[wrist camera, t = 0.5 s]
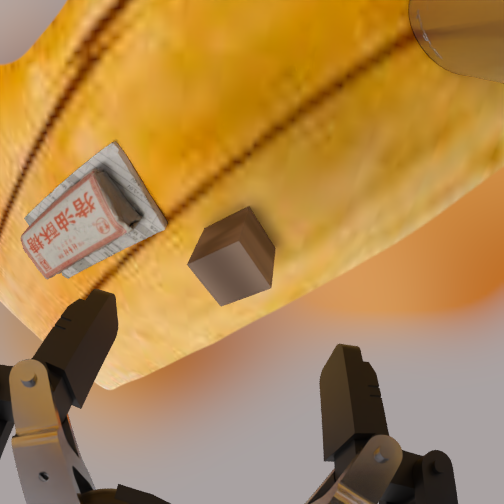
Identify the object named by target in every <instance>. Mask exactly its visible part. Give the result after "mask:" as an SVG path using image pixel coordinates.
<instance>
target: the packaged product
mask: <svg viewBox="0 0 504 504" xmlns="http://www.w3.org/2000/svg"><path fill="white" fill-rule="evenodd" d="M24 219H25V220H26V222H27V223H28V225H29V227H28V228H27V230H26V231H25V232H24V233H23V234H22V236H21V242H22V245H23V249H24V251H25V253H27V254H28V256H29V258H30V259H31V260H32V261H33V263H34V264H35V266H36V267H37V269H38V270H39V271H40V272H41V273H42V275H43V276H44V277H45V278H46V279H49V278H51V277H53V276H55V275H56V274H60V273H62V275H63V276H64V277H66V278H70V277H71V276H73V275H75V274H77V273H79V272H81V271H82V270H84V269H86V268H88V267H90V266H92V265H94V264H96V263H97V262H100V261H102V260H104V259H106V258H107V257H110V256H112V255H113V254H115V253H117V252H119V251H121V250H123V249H125V248H127V247H129V246H132V245H134V244H136V243H138V242H139V241H142V240H144V239H146V238H148V237H150V236H152V235H154V234H156V233H158V232H160V231H163V230H164V229H165V228H166V225H167V221H166V219H165V217H164V216H163V214H162V213H161V211H160V210H159V208H158V207H157V205H156V203H155V202H154V200H153V199H152V197H151V195H150V194H149V192H148V191H147V189H146V187H145V186H144V184H143V182H142V181H141V179H140V177H139V176H138V174H137V173H136V171H135V169H134V168H133V166H132V164H131V163H130V161H129V159H128V158H127V156H126V154H125V153H124V152H123V150H122V149H121V147H120V146H119V145H118V143H117V142H112V143H111V144H109V145H108V146H107V147H105V148H104V149H103V150H101V151H100V152H99V153H97V154H96V155H95V156H93V157H92V158H91V159H89V160H88V161H87V162H86V163H84V164H83V165H82V166H81V167H80V168H78V169H77V170H76V171H75V172H74V173H73V174H71V175H70V176H69V177H68V178H67V179H66V180H65V181H64V182H62V183H61V184H60V185H59V186H58V187H56V188H55V189H54V191H53V192H51V193H50V194H49V195H48V196H47V197H46V198H44V199H43V200H42V201H41V202H40V203H39V204H38V205H37V206H36V207H35V208H34V209H33V210H32V211H31V212H30V213H29V214H28V215H27V216H26V217H25V218H24Z"/></svg>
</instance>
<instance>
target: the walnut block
mask: <svg viewBox="0 0 504 504" xmlns="http://www.w3.org/2000/svg"><path fill="white" fill-rule="evenodd" d="M274 257H275V247H274V245H273V244H272V242H271V241H270V239H269V237H268V236H267V234H266V233H265V231H264V229H263V228H262V226H261V225H260V223H259V222H258V220H257V218H256V217H255V215H254V214H253V212H252V211H251V209H250V207H247V208H245V209H242V210H240V211H238V212H236V213H234V214H232V215H230V216H228V217H226V218H224V219H222V220H220V221H218V222H216V223H214V224H212V225H210V226H208V227H206V228H204V231H203V233H202V235H201V237H200V239H199V241H198V243H197V245H196V247H195V249H194V251H193V253H192V255H191V257H190V260H189V262H188V264H187V265H188V266H189V268H190V269H191V270H192V271H193V273H194V274H195V275H196V276H197V278H198V279H199V280H200V281H201V283H202V284H203V285H204V286H205V288H206V289H207V290H208V291H209V293H210V294H211V295H212V296H213V297H214V299H215V300H216V301H217V302H218V303H219V305H220V306H224V305H227V304H229V303H232V302H235V301H238V300H240V299H243V298H246V297H249V296H251V295H254V294H257V293H259V292H262V291H265V290H268V289H270V288H271V286H272V277H273V267H274Z"/></svg>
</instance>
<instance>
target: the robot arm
mask: <svg viewBox="0 0 504 504" xmlns="http://www.w3.org/2000/svg"><path fill="white" fill-rule="evenodd" d="M409 18H410V22H411V27H412V29H413V32H414V34H415V37H416V39H417V40H418V42H419V44H420V45H421V47H422V48H423V49H424V51H425V52H426V53H427V54H428V56H429V57H430V58H431V59H433V60H434V61H435V62H436V63H437V64H438V65H440V66H441V67H443V68H445V69H446V70H448V71H451V72H453V73H456V74H461V75H466V76H472V77H477V78H482V79H486V80H491V81H496V82H500V83H504V0H410V3H409ZM117 331H118V317H117V307H116V297H115V295H114V294H112V293H109V292H105V291H102V290H99V289H94V290H93V291H92V292H91V293H90V295H89V296H88V297H87V299H86V300H82V299H78V300H77V301H75V302H74V303H72V304H71V305H69V306H68V307H67V308H66V310H65V311H64V313H63V314H62V315H61V318H59V320H58V321H57V322H56V324H55V327H53V328H52V330H51V331H50V333H49V334H48V335H47V337H46V338H45V340H44V341H43V343H42V344H41V346H40V348H39V349H38V350H37V352H36V354H35V355H34V356H33V358H32V359H26V360H22V361H20V362H18V363H17V364H16V365H14V366H5V365H0V458H1V455H2V452H3V450H4V448H5V445H6V443H7V440H8V438H9V435H10V433H11V431H12V428H13V426H14V424H15V429H16V435H15V436H13V437H12V449H13V453H14V458H15V463H16V467H17V471H18V475H19V478H20V483H21V486H22V490H23V493H24V497H25V500H26V503H27V504H170V503H168V502H166V501H164V500H162V499H160V498H158V497H156V496H154V495H152V494H149V493H146V492H142V491H139V490H136V489H132V488H130V487H126V486H123V485H120V484H118V487H117V489H97V490H96V489H95V486H94V484H93V482H92V479H91V477H90V474H89V472H88V470H87V468H86V466H85V464H84V462H83V460H82V457H81V455H80V452H79V449H78V446H77V443H76V439H75V436H74V433H73V430H72V426H71V423H70V419H69V415H68V411H69V409H70V407H71V405H73V406H75V407H78V408H80V409H81V408H82V406H83V404H84V402H85V399H86V397H87V395H88V393H89V391H90V389H91V387H92V385H93V382H94V380H95V378H96V376H97V374H98V372H99V370H100V368H101V366H102V364H103V362H104V360H105V358H106V356H107V354H108V352H109V350H110V348H111V346H112V344H113V342H114V340H115V338H116V335H117ZM378 387H379V384H378V380H377V375H376V373H375V371H374V369H373V368H372V366H371V365H370V363H369V362H363V360H362V355H361V350H360V348H359V347H358V346H351V345H344V344H338V345H337V346H336V348H335V349H334V351H333V353H332V354H331V356H330V358H329V360H328V361H327V363H326V365H325V366H324V368H323V370H322V372H321V376H320V397H321V412H322V429H323V449H324V461H333V462H334V463H335V469H334V470H332V472H331V473H330V474H329V475H328V477H327V478H326V479H325V480H324V482H323V483H322V484H321V485H320V486H319V488H318V489H317V490H316V491H315V492H314V494H313V495H312V496H311V497H310V498H309V499H308V501H307V502H306V503H305V504H377V503H378V502H379V504H458V500H457V492H456V485H455V479H454V472H453V467H452V463H451V460H450V458H449V457H448V456H447V455H446V454H445V453H443V452H442V451H439V450H434V451H430V452H428V453H427V454H426V455H424V456H420V455H417V454H413V453H410V452H406V451H403V450H402V449H401V447H400V445H399V443H398V442H397V441H396V440H395V439H393V438H392V437H390V436H389V433H388V429H387V423H386V417H385V412H384V407H383V403H382V398H381V393H380V389H379V388H378Z"/></svg>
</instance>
